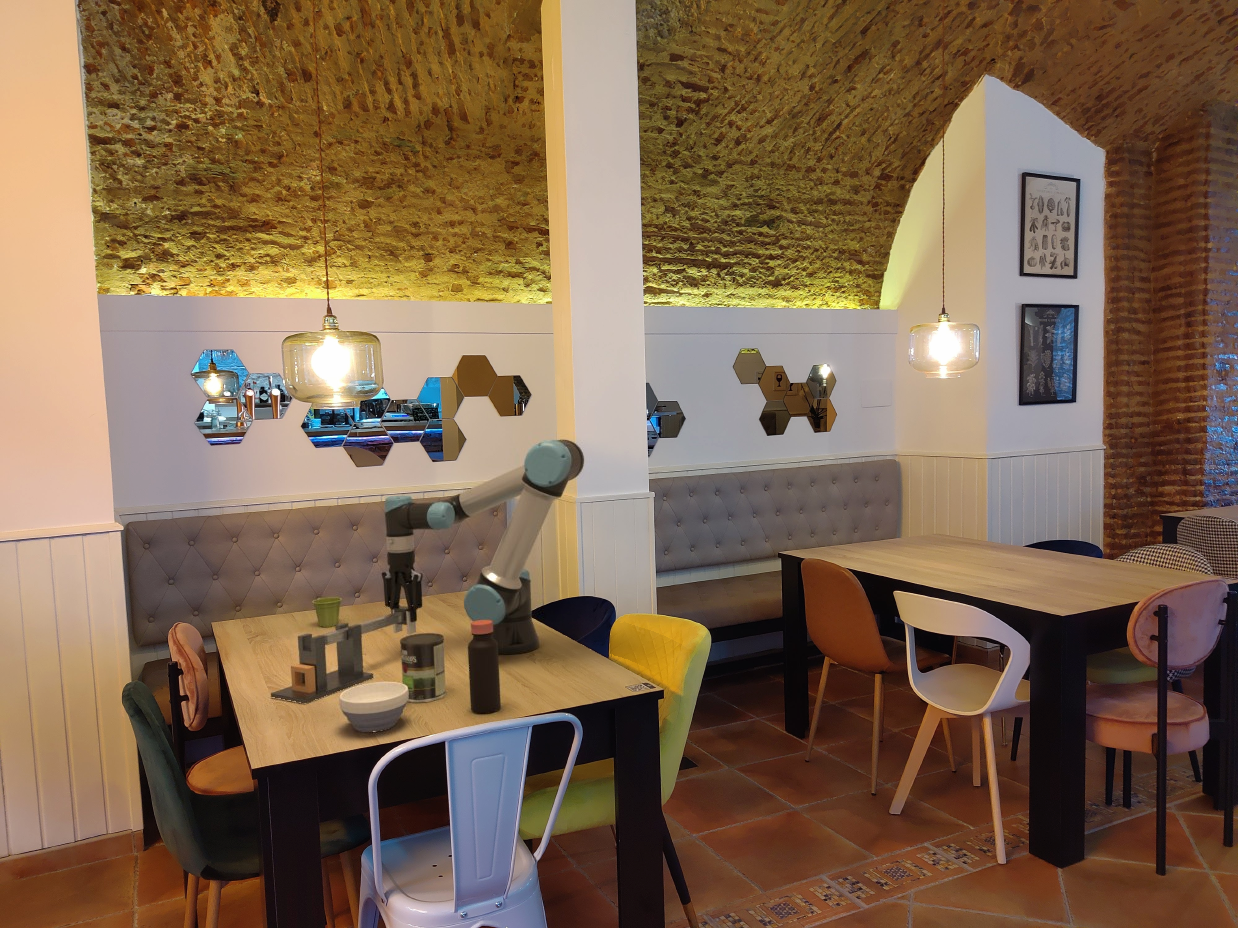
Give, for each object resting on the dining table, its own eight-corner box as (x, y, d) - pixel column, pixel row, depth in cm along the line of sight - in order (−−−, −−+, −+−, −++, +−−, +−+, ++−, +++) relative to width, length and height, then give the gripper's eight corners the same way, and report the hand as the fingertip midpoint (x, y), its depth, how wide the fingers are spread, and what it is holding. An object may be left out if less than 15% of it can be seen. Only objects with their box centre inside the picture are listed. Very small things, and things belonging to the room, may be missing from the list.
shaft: (413, 622, 236) (413, 607, 236) (330, 649, 210) (329, 631, 210) (402, 621, 238) (401, 606, 238) (318, 647, 212) (317, 630, 212)
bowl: (423, 723, 182) (421, 688, 182) (364, 743, 171) (362, 707, 171) (386, 710, 192) (384, 677, 192) (328, 728, 181) (326, 694, 181)
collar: (315, 690, 205) (314, 666, 205) (309, 692, 203) (307, 668, 203) (298, 687, 208) (297, 663, 207) (292, 689, 206) (290, 665, 206)
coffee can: (417, 705, 194) (414, 646, 193) (394, 696, 201) (391, 639, 201) (455, 694, 201) (452, 637, 200) (431, 686, 208) (429, 630, 208)
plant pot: (312, 624, 283) (311, 599, 283) (341, 620, 287) (340, 595, 286) (314, 630, 274) (313, 604, 274) (344, 626, 278) (343, 600, 278)
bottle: (479, 716, 185) (474, 627, 184) (465, 708, 190) (461, 622, 190) (506, 709, 189) (502, 622, 188) (492, 702, 194) (488, 617, 194)
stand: (373, 678, 218) (370, 624, 217) (305, 704, 198) (301, 646, 198) (340, 673, 223) (337, 621, 223) (271, 697, 204) (267, 641, 203)
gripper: (368, 551, 236) (372, 632, 237) (414, 553, 228) (419, 638, 229) (387, 547, 243) (391, 626, 244) (433, 549, 234) (437, 631, 235)
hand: (404, 632), depth 236 cm, fingers closed on shaft, 4 cm apart
